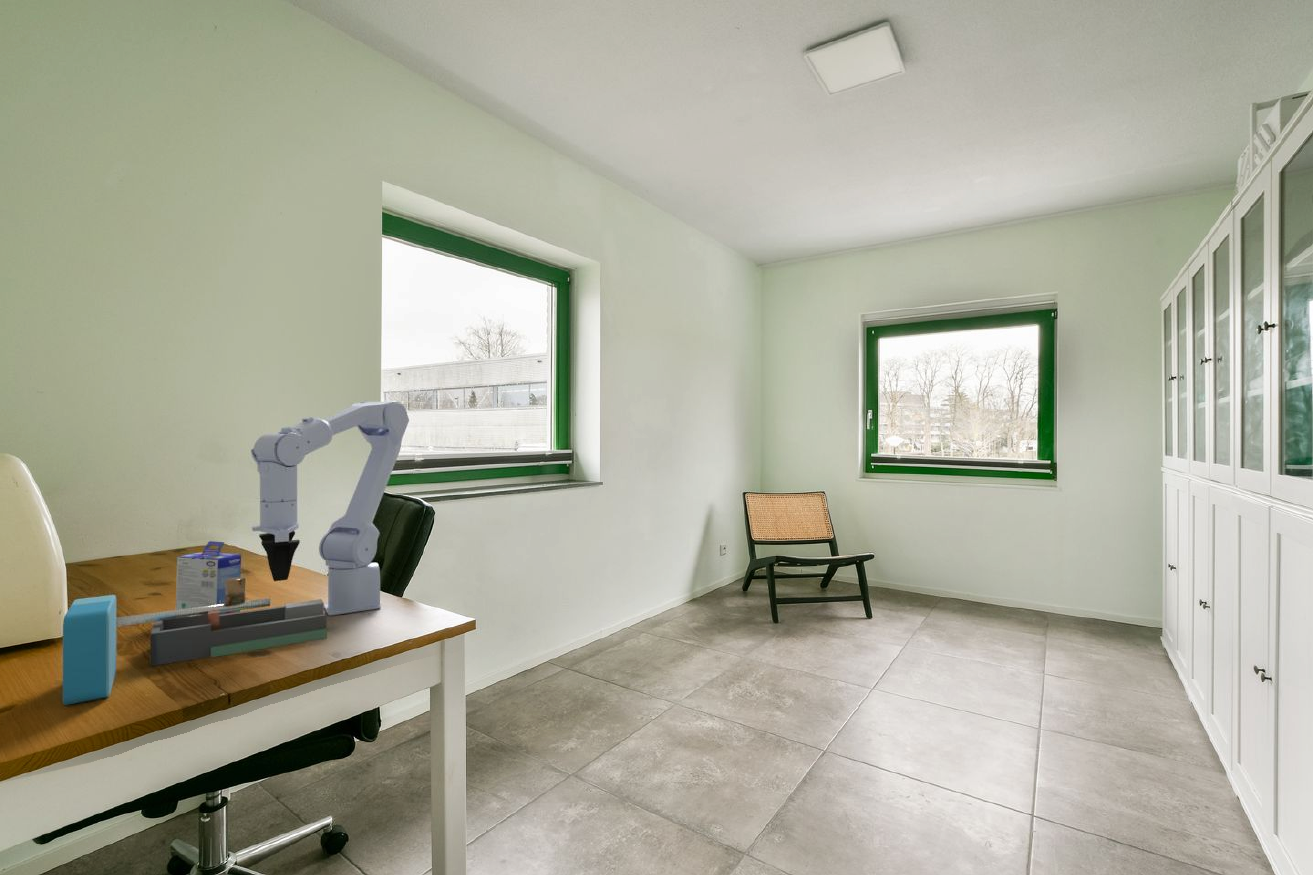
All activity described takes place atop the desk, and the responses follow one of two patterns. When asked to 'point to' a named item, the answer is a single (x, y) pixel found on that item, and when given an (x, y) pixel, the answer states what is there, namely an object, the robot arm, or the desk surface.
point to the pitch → (237, 632)
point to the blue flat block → (89, 649)
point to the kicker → (232, 603)
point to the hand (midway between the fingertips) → (279, 575)
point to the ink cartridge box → (205, 577)
